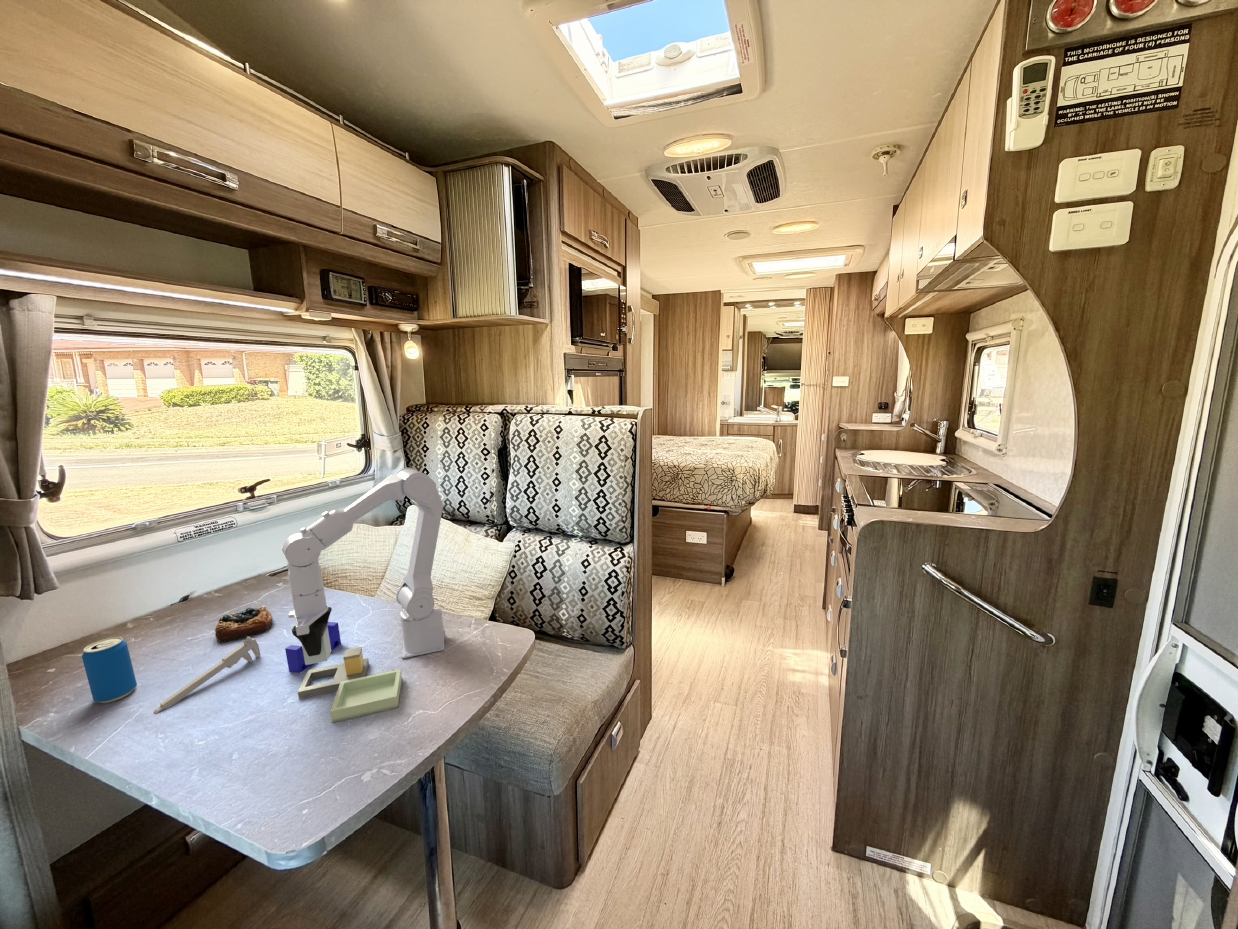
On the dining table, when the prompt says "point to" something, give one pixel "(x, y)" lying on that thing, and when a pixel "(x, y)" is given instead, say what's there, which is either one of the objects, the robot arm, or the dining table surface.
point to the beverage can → (109, 669)
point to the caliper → (214, 671)
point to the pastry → (243, 624)
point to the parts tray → (367, 695)
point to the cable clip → (296, 652)
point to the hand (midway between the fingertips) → (317, 648)
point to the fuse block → (343, 672)
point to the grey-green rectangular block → (324, 649)
